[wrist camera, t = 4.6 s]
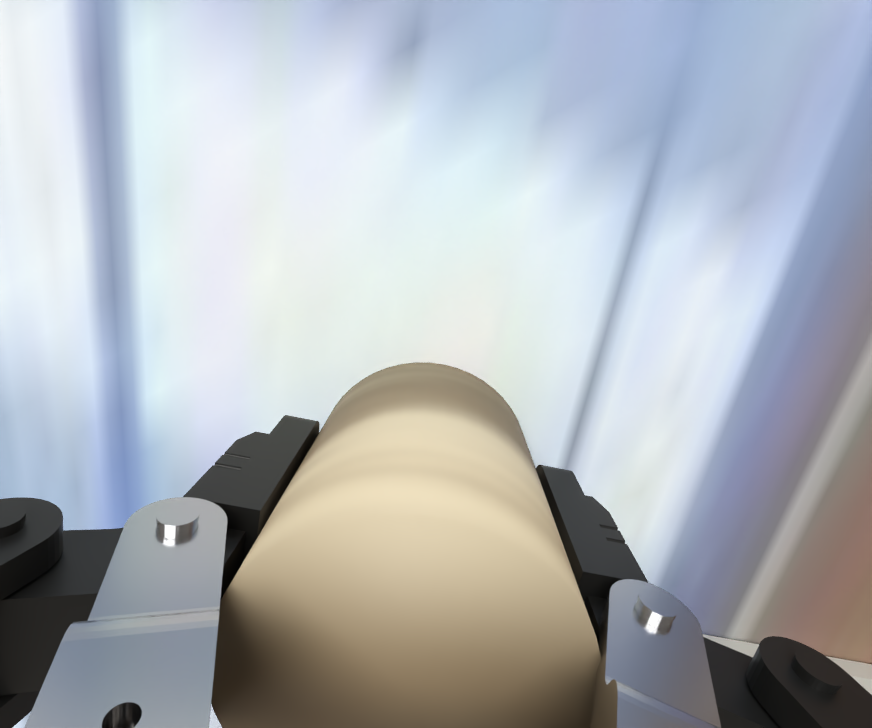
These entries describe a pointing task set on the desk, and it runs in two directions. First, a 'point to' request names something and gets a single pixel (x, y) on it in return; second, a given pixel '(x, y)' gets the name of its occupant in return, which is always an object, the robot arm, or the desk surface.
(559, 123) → the desk surface
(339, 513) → the beige round-top cylinder
